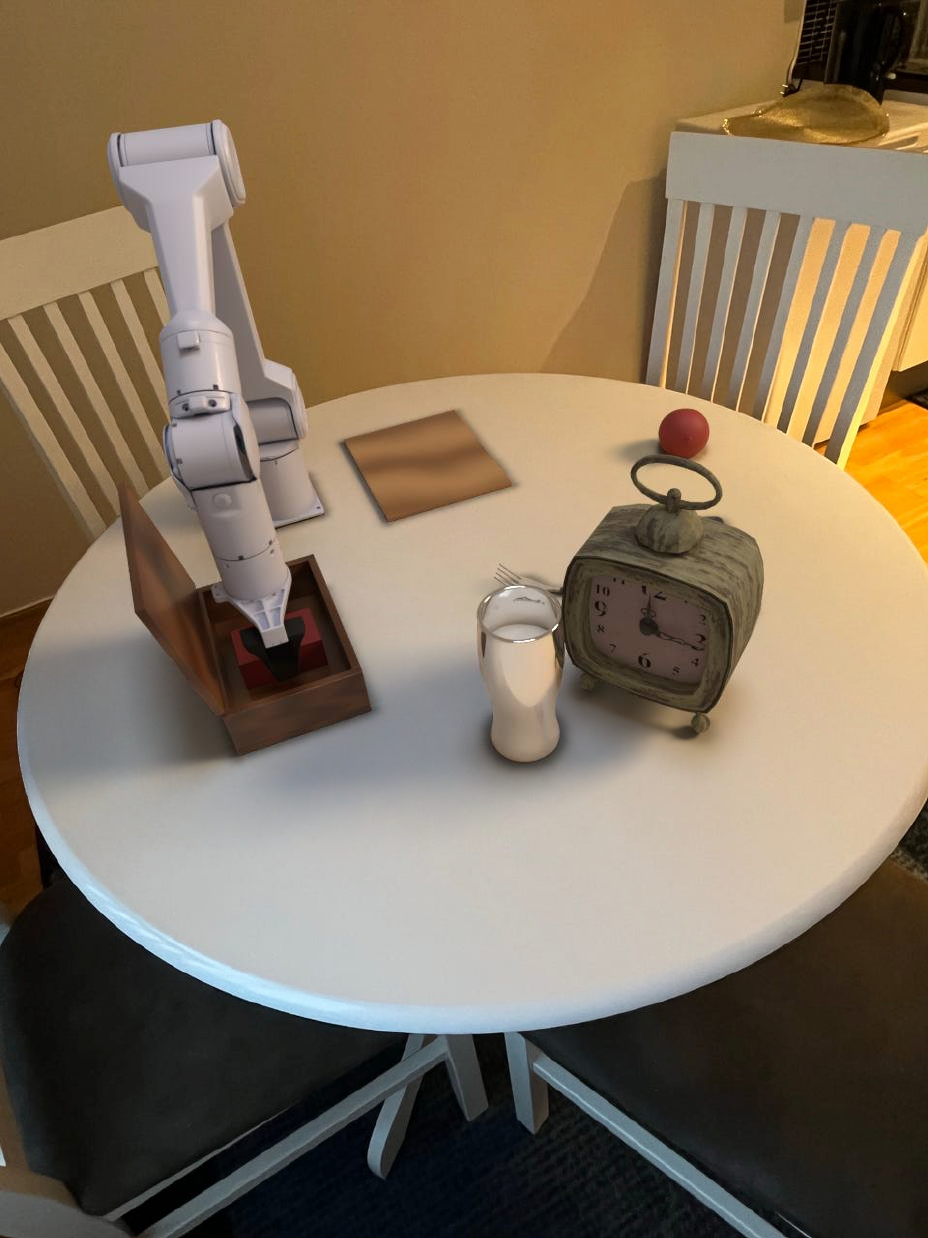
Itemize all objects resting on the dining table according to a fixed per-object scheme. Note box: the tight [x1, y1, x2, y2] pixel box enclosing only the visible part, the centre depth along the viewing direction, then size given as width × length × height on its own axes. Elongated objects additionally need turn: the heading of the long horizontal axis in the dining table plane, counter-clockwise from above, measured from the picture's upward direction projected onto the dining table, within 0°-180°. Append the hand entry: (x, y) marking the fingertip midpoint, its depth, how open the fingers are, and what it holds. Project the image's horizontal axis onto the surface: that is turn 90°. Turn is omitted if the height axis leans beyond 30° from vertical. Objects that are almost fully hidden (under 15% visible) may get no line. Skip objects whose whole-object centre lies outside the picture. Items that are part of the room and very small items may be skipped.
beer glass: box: [476, 583, 566, 763], centre depth 69 cm, size 7×7×15 cm
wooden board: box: [343, 409, 513, 523], centre depth 107 cm, size 20×16×1 cm
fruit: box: [657, 408, 710, 459], centre depth 102 cm, size 6×6×8 cm
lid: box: [116, 481, 225, 717], centre depth 73 cm, size 13×19×1 cm
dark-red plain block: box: [230, 608, 328, 690], centre depth 81 cm, size 5×8×4 cm, turn 111°
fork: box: [493, 563, 563, 593], centre depth 86 cm, size 3×16×2 cm, turn 73°
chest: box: [196, 553, 373, 757], centre depth 81 cm, size 13×19×5 cm
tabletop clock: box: [560, 453, 765, 734], centre depth 68 cm, size 14×9×25 cm, turn 58°
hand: (279, 650), depth 81 cm, fingers open, 7 cm apart
